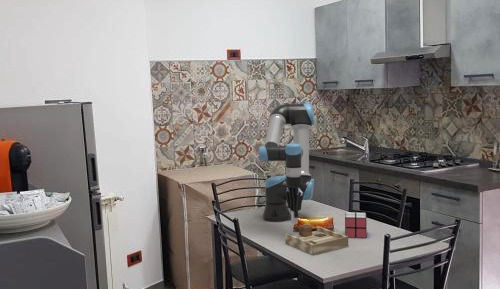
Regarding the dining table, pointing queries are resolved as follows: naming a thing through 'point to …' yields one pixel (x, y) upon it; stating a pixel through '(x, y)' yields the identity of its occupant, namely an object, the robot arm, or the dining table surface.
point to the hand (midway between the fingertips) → (294, 223)
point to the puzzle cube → (355, 225)
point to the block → (305, 230)
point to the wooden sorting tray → (318, 241)
